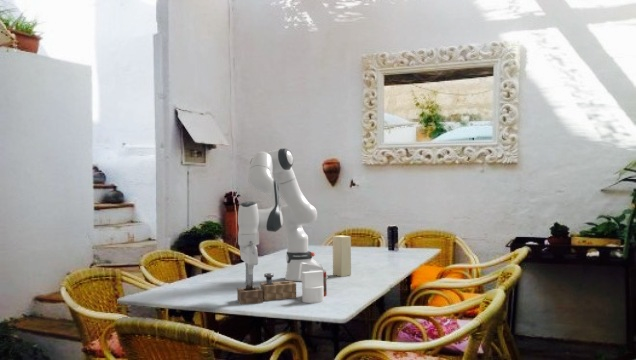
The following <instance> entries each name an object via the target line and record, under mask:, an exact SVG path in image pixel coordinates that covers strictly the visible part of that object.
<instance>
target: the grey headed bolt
mask: <svg viewBox="0 0 636 360" xmlns="http://www.w3.org/2000/svg"><path fill="white" fill-rule="evenodd" d="M263 276H264V278H265V280H266V281H265V283H266V285H272V282H273V278H274V273H273V272H272V273H271V272H268V273H264V274H263Z"/></svg>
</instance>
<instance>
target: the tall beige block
mask: <svg viewBox="0 0 636 360" xmlns="http://www.w3.org/2000/svg"><path fill="white" fill-rule="evenodd" d="M351 238H352V236H351V235H340V234H339V235H333V236H332V275H333V276H336V275H337V277H340V276H344V277H348V276H347V275H351V276H352V239H351Z"/></svg>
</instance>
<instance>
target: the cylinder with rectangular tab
mask: <svg viewBox="0 0 636 360" xmlns="http://www.w3.org/2000/svg"><path fill="white" fill-rule="evenodd" d="M301 283H302V284H301V287H302V288H301V289H302V290H301V291H302V294H301V297H302V302H304V303H308V304H309V303H311V304H312V303H313V304H314V303H315V304H316V303H321V302H324V301H325V296H324V283H323V271H321V270H320V271H308V272H302V281H301Z"/></svg>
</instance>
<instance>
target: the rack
mask: <svg viewBox="0 0 636 360" xmlns="http://www.w3.org/2000/svg"><path fill="white" fill-rule="evenodd" d="M236 291H237V295H236V296H237V297H236V298H237V301H238V303H239V304H240V305H249V304H251V305H252V304H258V303H259V304H260V303H261V304H262V303H264V300H263V290H262V289H260V287H259V286H253V290H249V291H246V287H239V288H238V287H237V289H236Z"/></svg>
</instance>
